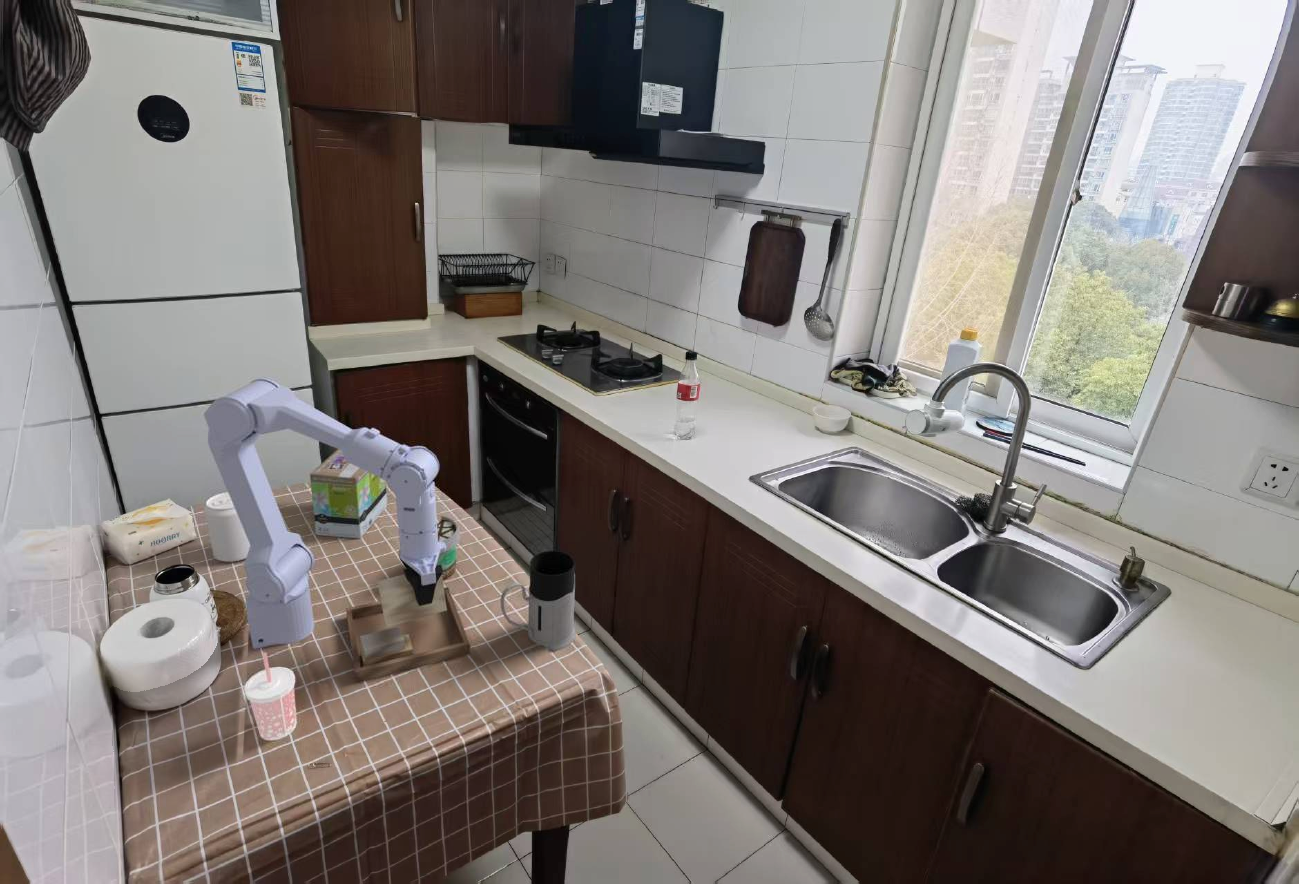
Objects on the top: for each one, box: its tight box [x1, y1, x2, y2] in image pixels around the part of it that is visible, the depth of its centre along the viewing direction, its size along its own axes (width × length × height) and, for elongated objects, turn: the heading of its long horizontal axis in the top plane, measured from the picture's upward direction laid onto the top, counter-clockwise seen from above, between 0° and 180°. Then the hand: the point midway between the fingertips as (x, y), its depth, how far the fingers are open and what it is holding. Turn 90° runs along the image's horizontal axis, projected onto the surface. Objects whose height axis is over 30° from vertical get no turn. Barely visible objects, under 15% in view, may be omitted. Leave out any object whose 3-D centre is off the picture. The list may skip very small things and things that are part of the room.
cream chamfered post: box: [377, 574, 447, 627], centre depth 109 cm, size 10×3×7 cm, turn 118°
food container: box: [436, 515, 461, 581], centre depth 131 cm, size 12×6×10 cm, turn 168°
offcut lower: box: [360, 634, 413, 667], centre depth 109 cm, size 8×4×2 cm, turn 117°
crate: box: [345, 586, 471, 684], centre depth 115 cm, size 18×17×3 cm
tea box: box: [309, 449, 388, 539], centre depth 146 cm, size 15×10×15 cm
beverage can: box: [203, 491, 250, 563], centre depth 132 cm, size 8×8×12 cm
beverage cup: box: [243, 651, 298, 741], centre depth 93 cm, size 6×6×14 cm
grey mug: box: [500, 550, 577, 652], centre depth 114 cm, size 9×14×15 cm, turn 132°
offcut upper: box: [360, 626, 405, 661], centre depth 108 cm, size 6×4×2 cm, turn 121°
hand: (423, 597), depth 110 cm, fingers closed on cream chamfered post, 3 cm apart
